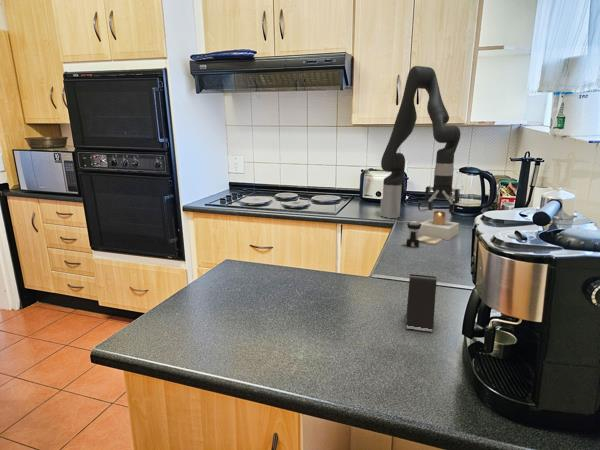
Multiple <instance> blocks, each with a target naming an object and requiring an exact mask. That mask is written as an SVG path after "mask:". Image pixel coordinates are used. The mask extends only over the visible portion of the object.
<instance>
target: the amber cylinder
mask: <svg viewBox="0 0 600 450" xmlns="http://www.w3.org/2000/svg"><path fill="white" fill-rule="evenodd" d="M446 218H447V212H446V211H444V210H435V211H434V212H433V218H432V219H433V224H435V225H445V221H446V220H447V219H446Z"/></svg>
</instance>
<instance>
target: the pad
mask: <svg viewBox="0 0 600 450" xmlns="http://www.w3.org/2000/svg"><path fill="white" fill-rule="evenodd" d="M418 240H419V244H420V243H421V244H427V245H430V246H436V245H437V244H439V243H440V242H442V241H443V239H438V238H433V237H427V236H421V237H418Z"/></svg>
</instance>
